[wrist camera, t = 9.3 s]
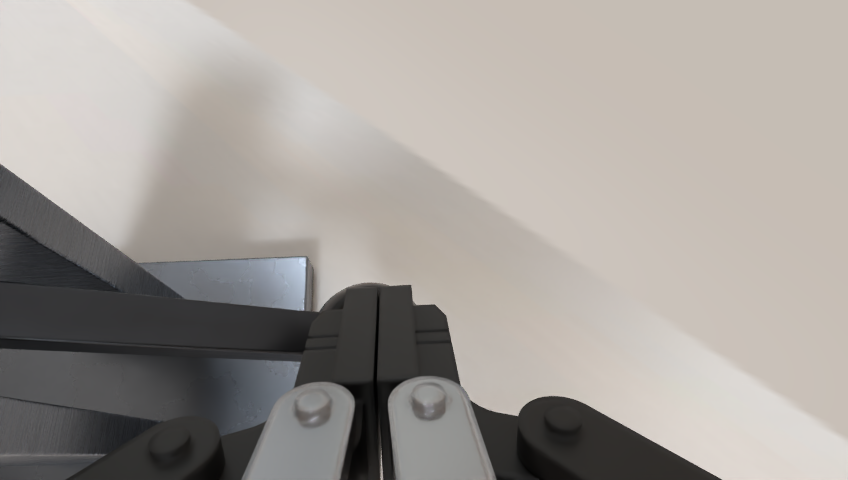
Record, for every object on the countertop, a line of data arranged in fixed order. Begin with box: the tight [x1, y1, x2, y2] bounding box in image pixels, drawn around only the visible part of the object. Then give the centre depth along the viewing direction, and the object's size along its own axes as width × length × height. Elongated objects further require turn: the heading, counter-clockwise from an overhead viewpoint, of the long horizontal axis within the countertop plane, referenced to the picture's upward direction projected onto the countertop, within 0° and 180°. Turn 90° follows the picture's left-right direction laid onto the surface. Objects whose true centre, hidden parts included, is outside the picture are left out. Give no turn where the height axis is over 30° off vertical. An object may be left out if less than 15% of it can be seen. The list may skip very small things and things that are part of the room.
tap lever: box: [0, 281, 416, 362], centre depth 11 cm, size 13×3×3 cm
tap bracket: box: [0, 164, 313, 480], centre depth 13 cm, size 12×9×13 cm
